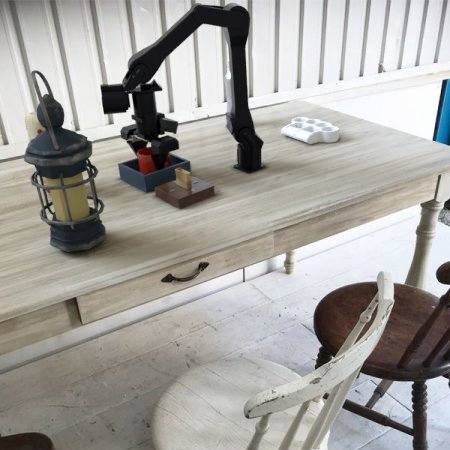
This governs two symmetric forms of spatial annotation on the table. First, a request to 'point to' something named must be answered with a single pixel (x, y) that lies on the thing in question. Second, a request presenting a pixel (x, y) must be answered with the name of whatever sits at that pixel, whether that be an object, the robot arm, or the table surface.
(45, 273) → the table surface
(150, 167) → the mug
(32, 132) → the food model
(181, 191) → the panel
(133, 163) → the dark blue tray
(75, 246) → the lantern
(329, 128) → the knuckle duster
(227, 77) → the plastic bottle
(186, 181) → the tap knob
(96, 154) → the table surface
